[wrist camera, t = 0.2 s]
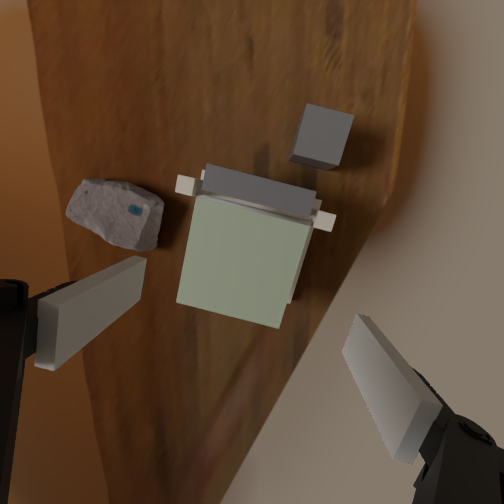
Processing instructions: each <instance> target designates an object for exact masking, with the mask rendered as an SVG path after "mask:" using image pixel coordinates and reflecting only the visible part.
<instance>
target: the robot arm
mask: <svg viewBox="0 0 504 504" xmlns="http://www.w3.org/2000/svg"><path fill="white" fill-rule="evenodd" d="M146 260H147V259H146V258H142V257H139V256H135V255H134V256H132V257H130V258H128V259H126V260H124V261H121V262H119V263H117V264H115V265H113V266H111V267H108V268H106V269H104V270H102V271H100V272H98V273H95V274H93V275H91V276H89V277H87V278H84V279H82V280H80V281H72V282H67V283H63V284H61V285H58V286H56V287H54V288H51V289H49V290H47V291H46V292H42V293H40V294H38V295H35V296H33V297H31V298H29V299H28V288H29V286H28V284H27V283H26V282H24V281H20V280H15V279H0V504H7V503H8V495H9V487H10V479H11V471H12V463H13V455H14V448H15V440H16V431H17V424H18V416H19V408H20V400H21V392H22V384H23V376H24V368H25V359H26V358H27V357H29V356H30V355H32V354H33V353H35V363H34V366H37V367H41V368H44V369H49V370H52V371H55V370H56V369H57V368H58V367H60V366H61V365H62V364H63V363H64V362H66V361H67V360H68V359H69V358H70V357H72V356H73V355H74V354H75V353H76V352H78V351H79V350H80V349H81V348H82V347H84V346H85V345H86V344H87V343H88V342H90V341H91V340H92V339H93V338H94V337H96V336H97V335H98V334H99V333H101V332H102V331H103V330H104V329H105V328H107V327H108V326H109V325H110V324H111V323H113V322H114V321H115V320H116V319H117V318H119V317H120V316H121V315H122V314H123V313H125V312H126V311H127V310H128V309H129V308H131V307H132V306H133V305H134V304H135V303H137V302H138V301H139V300H140V298H141V291H142V285H143V279H144V273H145V267H146ZM342 353H343V356H344V358H345V360H346V362H347V364H348V366H349V368H350V371H351V373H352V375H353V377H354V379H355V381H356V383H357V385H358V387H359V390H360V391H361V394H362V396H363V398H364V400H365V402H366V404H367V406H368V409H369V411H370V413H371V415H372V417H373V419H374V421H375V423H376V425H377V428H378V429H379V432H380V434H381V436H382V438H383V440H384V442H385V444H386V447H387V448H388V451H389V453H390V455H391V457H392V459H393V460H397V461H401V462H404V463H408V464H413V462H414V460H415V458H416V457H417V455H418V453H419V452H420V454H421V456H422V457H423V459H424V461H425V464H424V466H423V468H422V470H421V472H420V474H419V476H418V478H417V479H416V481H415V483H414V485H413V486H414V487H415V488H416V492H415V495H414V499H413V503H412V504H504V449H502V448H500V447H498V446H497V445H496V443H495V440H494V439H493V438H492V437H491V436H490V435H489V433H487V432H486V431H485V430H484V429H483V428H482V427H480V426H479V425H477V424H476V423H475V422H473V421H471V420H469V419H467V418H466V417H463V416H460V415H457V414H455V413H454V412H453V411H452V410H451V408H450V407H449V406H448V405H447V404H446V403H445V401H443V399H442V398H441V397H440V396H439V394H437V393H436V391H435V390H434V389H433V387H432V386H430V384H429V383H428V382H427V381H426V379H425V378H424V377H423V376H422V375H421V374H420V373H418V372H417V371H416V370H415V369H413V368H412V367H410V365H409V364H408V363H407V362H406V361H405V359H404V358H403V357H402V356H401V354H400V353H399V352H398V351H397V350H396V349H395V347H394V346H393V345H392V344H391V342H390V341H389V340H388V339H387V338H386V336H385V335H384V334H383V333H382V332H381V331H380V329H379V328H378V327H377V326H376V324H375V323H374V322H373V321H372V320H371V318H370V317H368V316H365V315H360V314H357V315H356V317H355V320H354V322H353V325H352V327H351V330H350V332H349V335H348V338H347V340H346V343H345V346H344V348H343V351H342Z"/></svg>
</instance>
